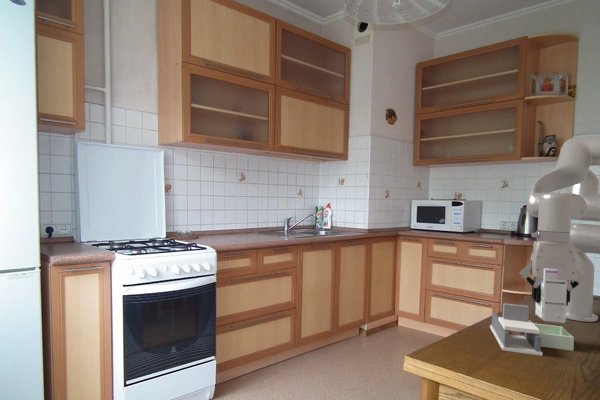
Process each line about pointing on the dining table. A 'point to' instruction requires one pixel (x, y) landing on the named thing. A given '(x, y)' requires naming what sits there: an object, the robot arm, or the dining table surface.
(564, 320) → the syrup box
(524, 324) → the cover
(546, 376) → the dining table surface
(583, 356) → the dining table surface
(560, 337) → the socket
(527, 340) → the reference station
